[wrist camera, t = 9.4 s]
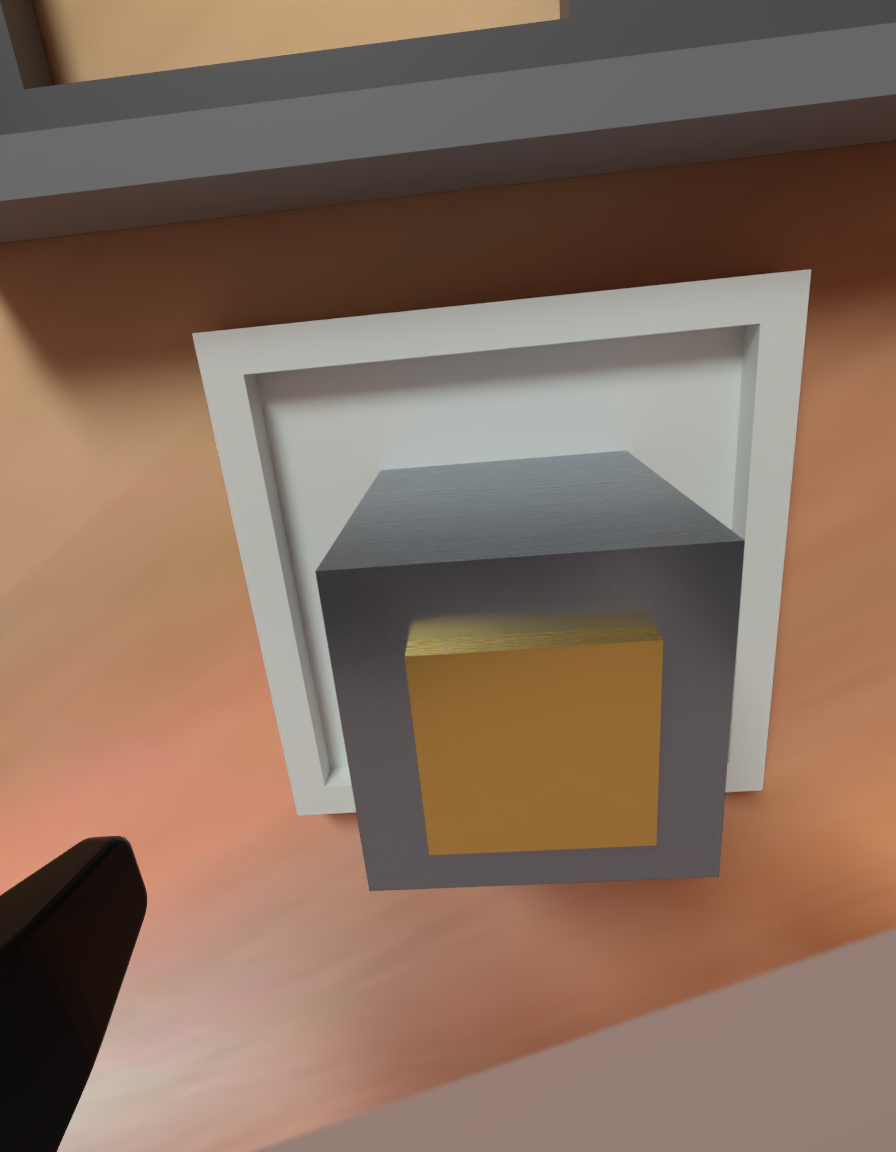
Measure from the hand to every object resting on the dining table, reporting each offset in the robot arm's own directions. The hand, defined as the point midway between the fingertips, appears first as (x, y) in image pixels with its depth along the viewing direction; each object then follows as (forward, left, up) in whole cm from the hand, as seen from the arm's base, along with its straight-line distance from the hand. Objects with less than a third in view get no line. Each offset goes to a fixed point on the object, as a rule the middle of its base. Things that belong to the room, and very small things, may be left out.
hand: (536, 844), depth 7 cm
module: (0, 0, -8) cm, 8 cm away
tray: (0, 0, -8) cm, 8 cm away
